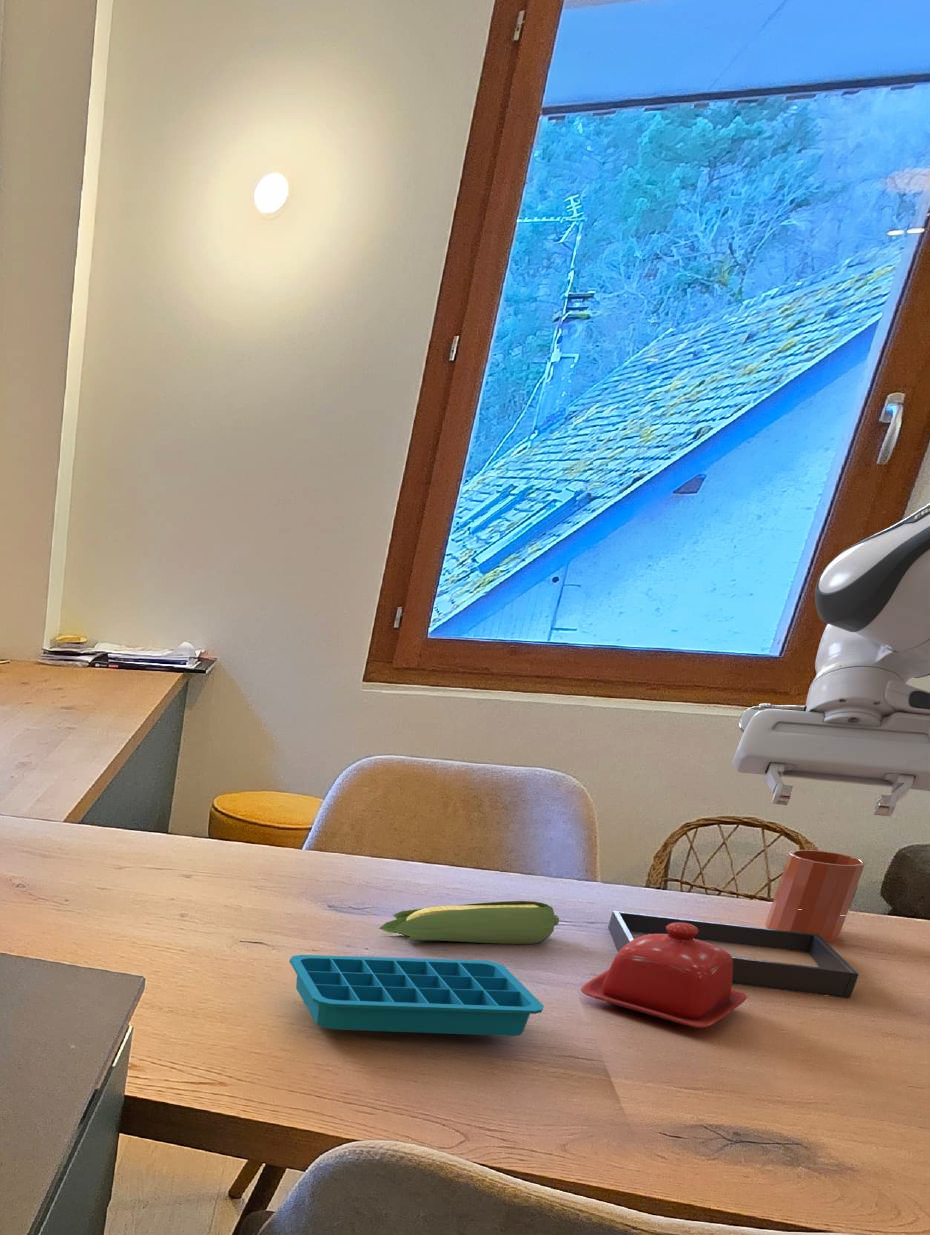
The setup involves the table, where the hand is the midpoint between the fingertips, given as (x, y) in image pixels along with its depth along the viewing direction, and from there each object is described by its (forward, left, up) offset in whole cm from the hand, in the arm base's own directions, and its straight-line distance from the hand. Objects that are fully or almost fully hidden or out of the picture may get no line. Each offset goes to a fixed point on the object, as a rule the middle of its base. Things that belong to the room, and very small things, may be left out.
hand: (831, 807), depth 136 cm
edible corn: (+37, +26, -14) cm, 47 cm away
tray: (+12, +23, -14) cm, 29 cm away
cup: (+2, +10, -14) cm, 17 cm away
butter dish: (+20, +39, -14) cm, 46 cm away
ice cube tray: (+43, +52, -14) cm, 69 cm away
